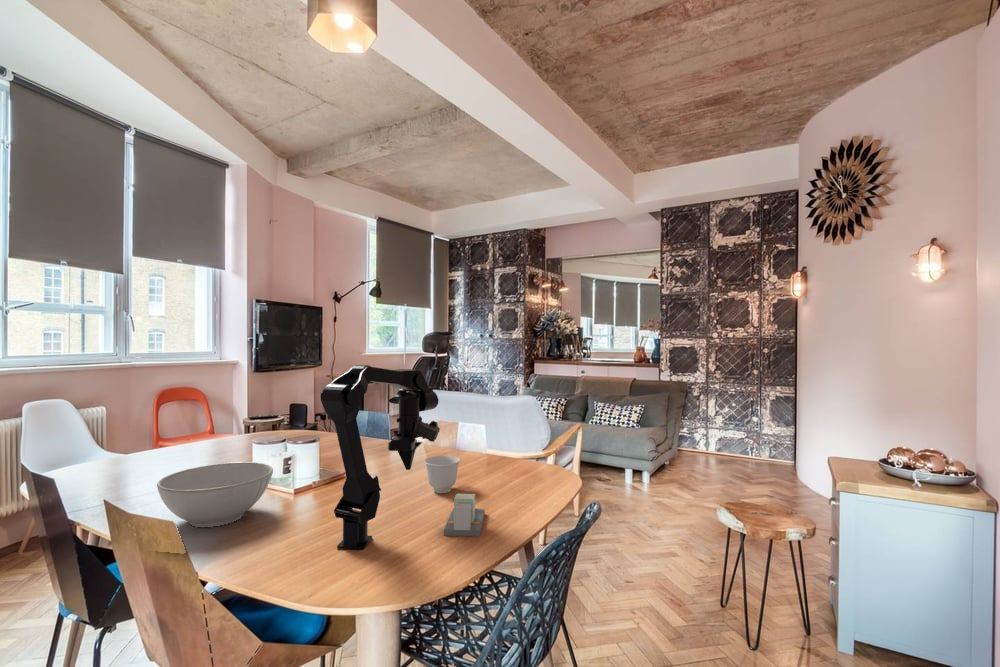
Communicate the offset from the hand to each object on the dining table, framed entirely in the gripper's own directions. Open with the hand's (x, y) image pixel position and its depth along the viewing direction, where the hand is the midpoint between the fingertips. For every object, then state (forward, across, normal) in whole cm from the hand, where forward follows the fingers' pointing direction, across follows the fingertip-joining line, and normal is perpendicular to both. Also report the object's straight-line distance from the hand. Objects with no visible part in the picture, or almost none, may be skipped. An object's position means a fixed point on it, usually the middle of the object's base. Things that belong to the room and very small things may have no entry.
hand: (408, 469), depth 125 cm
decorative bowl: (+13, -6, +51) cm, 53 cm away
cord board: (+13, -4, -17) cm, 22 cm away
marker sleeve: (+11, -6, -17) cm, 21 cm away
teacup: (+13, +24, -6) cm, 28 cm away
